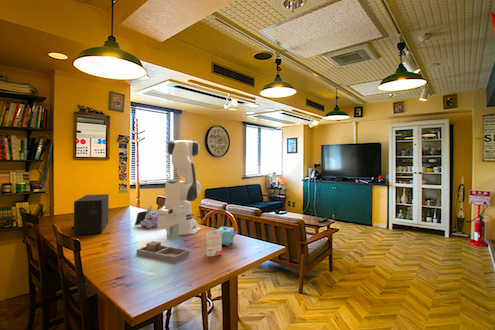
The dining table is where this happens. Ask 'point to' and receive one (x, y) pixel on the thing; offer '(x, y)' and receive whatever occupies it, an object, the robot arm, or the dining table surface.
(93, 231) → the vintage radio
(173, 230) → the slate block
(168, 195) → the robot arm
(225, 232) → the teapot
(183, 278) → the dining table surface
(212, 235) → the ink cartridge box
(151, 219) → the purple rock
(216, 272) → the dining table surface
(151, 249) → the walnut block
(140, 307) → the dining table surface
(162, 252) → the tray
